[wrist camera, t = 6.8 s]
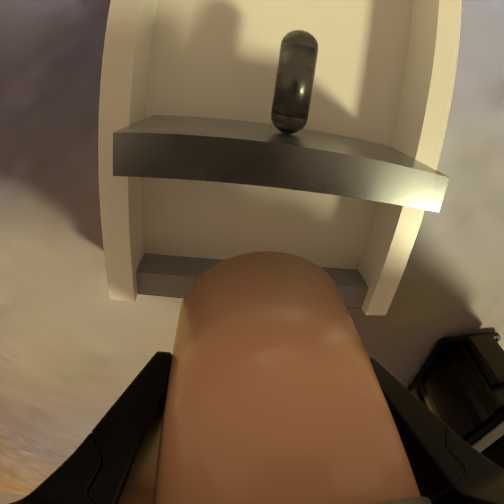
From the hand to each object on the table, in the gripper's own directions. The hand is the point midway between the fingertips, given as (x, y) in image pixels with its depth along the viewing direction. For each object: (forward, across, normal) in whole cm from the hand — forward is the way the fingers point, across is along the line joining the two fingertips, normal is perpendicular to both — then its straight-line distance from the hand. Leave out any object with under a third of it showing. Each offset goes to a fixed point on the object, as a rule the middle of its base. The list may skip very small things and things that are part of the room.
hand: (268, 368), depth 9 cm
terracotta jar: (+2, 0, 0) cm, 2 cm away
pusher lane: (+6, 0, -10) cm, 11 cm away
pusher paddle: (+5, 0, -7) cm, 8 cm away
